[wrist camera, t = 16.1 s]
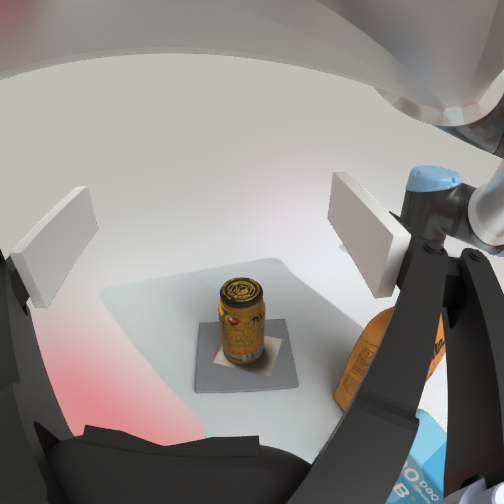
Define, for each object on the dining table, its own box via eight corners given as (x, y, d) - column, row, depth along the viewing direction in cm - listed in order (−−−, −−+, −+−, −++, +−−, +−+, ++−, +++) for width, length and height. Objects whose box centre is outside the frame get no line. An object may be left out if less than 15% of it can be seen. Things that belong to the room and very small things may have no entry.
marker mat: (284, 321, 47) (284, 318, 47) (298, 387, 37) (298, 385, 36) (200, 325, 47) (199, 322, 46) (195, 393, 36) (195, 390, 35)
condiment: (230, 328, 45) (225, 268, 39) (282, 339, 43) (288, 279, 37) (213, 363, 40) (203, 303, 33) (270, 377, 38) (274, 319, 31)
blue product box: (351, 463, 26) (388, 427, 20) (378, 444, 28) (419, 402, 21) (401, 525, 17) (458, 510, 11) (427, 503, 19) (486, 476, 12)
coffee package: (424, 394, 33) (501, 277, 21) (365, 443, 28) (452, 332, 16) (384, 354, 40) (434, 232, 28) (323, 392, 36) (365, 261, 24)
